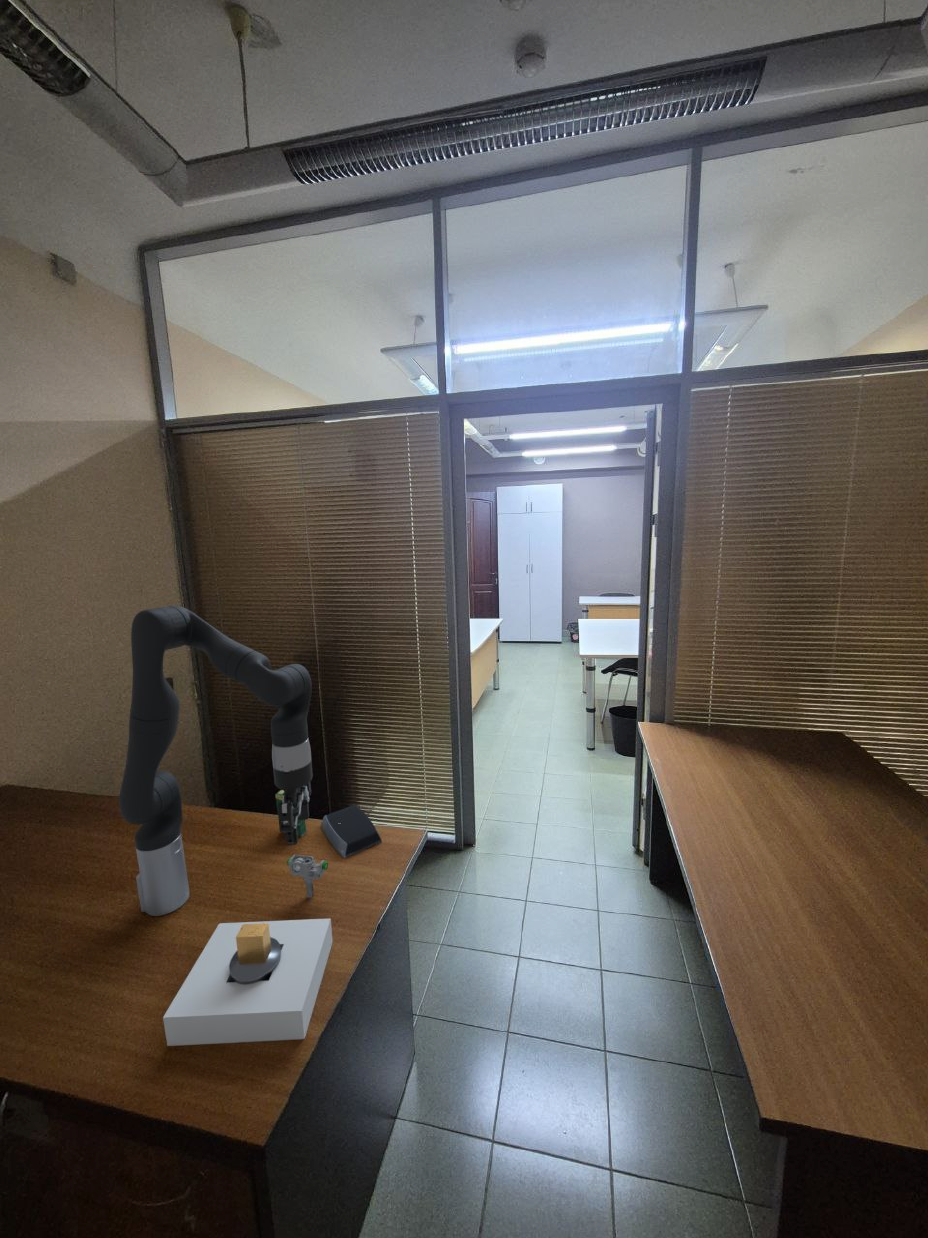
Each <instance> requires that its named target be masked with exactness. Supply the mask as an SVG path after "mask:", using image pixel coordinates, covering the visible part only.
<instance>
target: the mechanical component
mask: <svg viewBox="0 0 928 1238" xmlns="http://www.w3.org/2000/svg"><path fill="white" fill-rule="evenodd" d="M286 865H288V868H289V873H290V874H291V875H292V876H293V877H301V878H303V879H302V880H303V882H304V883H305V888H306V897H307V898H308V899H312V898H313V895H314V894H315V893H314V884H313V883H314V880H315V879H316V880H319V879H321V878H322V876H323V875H324V874H325V872H326V871H327V869H328V867H329V862H327V861H326V860H324V859H323V860H321V861H320V863H317V862H316V860H315V859H314V857H313V856H312V855H302V854H293V855H292V857H288V858H287V860H286Z"/></svg>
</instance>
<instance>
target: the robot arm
mask: <svg viewBox="0 0 928 1238" xmlns="http://www.w3.org/2000/svg"><path fill="white" fill-rule="evenodd" d="M130 639H131V640H130V641H131V642H130V644H131V660H132V683H131V684H132V686H131V687H132V688H131V689H132V690H131V702H130V703H131V704H130V710H129V723H128V724H129V725H128V726H129V727H128V741H127V742H128V743H127V751H126V761H125V769H124V773H123V775H122V776H123V777H122V783H121V787H120V792H119V798H118V805H119V810H120V813H121V816H122V818H123V819H124V821H126V822H127V823H129V824H131V825H133V826H135V825H136V826H137V825H140V827H139V828H138V829H137V831H136V832H135V834H134V846H135V851H136V858H137V864H138V869H139V870H138V871H139V873H138V874H137V875H136V876H135V877H136V878H135V881H136V886H137V891H138V897H139V903H140V908H141V909H140V910H141V912H142V913H146V914H147V915H149V916H151V917H159V916H164V915H167V914H170V913H172V912H174V911H176V910H178V909H179V908H181V907H182V906H183V905H185V903H186V902H187V901H188V900H189V898H190V887H189V880H188V873H187V872H188V871H187V866H186V865H187V864H186V858H185V852H184V844H183V838H182V837H183V836H182V831H181V826H182V822H183V805H182V793H181V787H180V783H179V782H178V780H177V778H176V777H175V775H173V773H171V772H169V771H167V770H158V768H159V766H160V764H161V762H162V761H163V758H164V756H165V755H166V753H167V752H168V750H169V748H170V747H171V744H172V742H173V740H174V739H175V736H176V734H177V731H178V726H179V720H180V719H179V718H180V705H181V704H180V701H179V697H178V696H177V695H178V694H177V693H176V692H175V690H174V689H173V688H172V686H171V685H170V684H169V682H168V681H167V678H166V677H165V675H164V658H165V652H166V651H168V650H172V649H177V648H181V647H183V646H186V647H191V648H193V649H194V648H195V649H197V650H200V651H202V652H203V653H205V654H206V656H207V657H208V659H209V661H210V663H211V665H212V666H213V667H214V668H215V670H216V671H218V672H219V673H221V674H222V675H223V676H226V677H228V678H230V679H232V680H234V681H236V682H238V683H241V684H242V685H244V687H246V688H247V689H248V691H250V692H251V693H252V694H253V695H254V696H255V698H257V699H258V700H259V701H260V702H262V703H263V704H266V705H268V706H271V707H280V708H279V709H278V711H276V712H275V714H274V715H273V716H272V718H271V719H270V733H271V743H272V748H271V759H272V760H271V761H272V768H273V779H274V785H275V786H276V787H277V789H280V790H283V791H284V793H283V798H282V801H283V803H279V804H278V812H277V815H278V814H279V819H278V825H279V826H278V827H279V833H280V832H285V835H284V836H285V844H286V845H288V846H292V845H293V846H295V845H297V844H298V843H299V836H298V833H297V818H299V820H305V821H306V820H308V819H309V818H310V809H309V802H310V796H311V795H312V788H311V787H312V786H311V785H312V784H311V781H312V779H313V775H314V774H313V763H312V751H311V750H312V749H311V744H310V740H309V730H308V720H307V719H308V714H309V709H310V705H311V703H310V702H311V697H312V691H313V690H312V689H313V688H312V686H313V685H312V678H311V675H310V673H309V671H308V670H307V668H306V667H304V665H301V664H299V663H291V664H288V665H285V666H283V667H280V668H277V669H275V670H272V669H271V666H272V665H271V661H270V659H269V658H268V657H267V656H266V655H264V654H263V653H260V652H258V651H256V650H254V649H253V648H251V647H248V646H246V645H244V644H242V643H240V642H238V641H235V640H234V639H232V638H230V637H228V636H227V635H226V634H224V633H222V632H221V631H219V630H218V629H216V628H215V627H214V626H212V625H211V624H209V623H208V622H207V621H206V620H204V619H202V618H201V617H200V616H198V615H197V614H196V613H194V612H193V611H191V610H190V609H188V608H186V607H184V606H178V605H168V606H163V607H153V608H148V609H144V610H141V611H139V612H138V613H137V614H135V616H134V618H133V620H132V623H131V629H130ZM293 809H297V810H296V811H295V812H293ZM293 816H294V819H293ZM288 821H289V823H287V822H288Z"/></svg>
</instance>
